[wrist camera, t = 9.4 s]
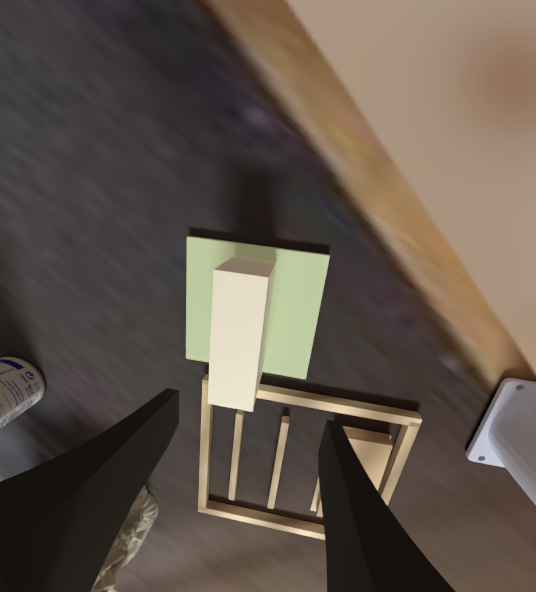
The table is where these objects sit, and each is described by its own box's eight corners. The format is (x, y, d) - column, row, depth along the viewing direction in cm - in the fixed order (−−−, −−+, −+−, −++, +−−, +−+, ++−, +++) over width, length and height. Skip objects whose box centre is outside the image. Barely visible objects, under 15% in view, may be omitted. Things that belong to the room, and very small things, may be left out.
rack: (418, 412, 20) (422, 419, 20) (367, 540, 26) (369, 550, 25) (206, 373, 22) (202, 379, 21) (200, 503, 27) (198, 511, 27)
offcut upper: (388, 435, 21) (392, 445, 20) (363, 513, 25) (366, 525, 24) (333, 426, 22) (335, 436, 21) (316, 504, 25) (316, 515, 24)
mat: (329, 254, 17) (329, 255, 17) (305, 375, 21) (305, 379, 20) (189, 236, 18) (186, 236, 18) (188, 355, 22) (185, 358, 21)
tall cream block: (276, 261, 18) (268, 277, 13) (262, 370, 20) (252, 411, 16) (234, 255, 18) (213, 269, 14) (226, 364, 21) (207, 403, 16)
